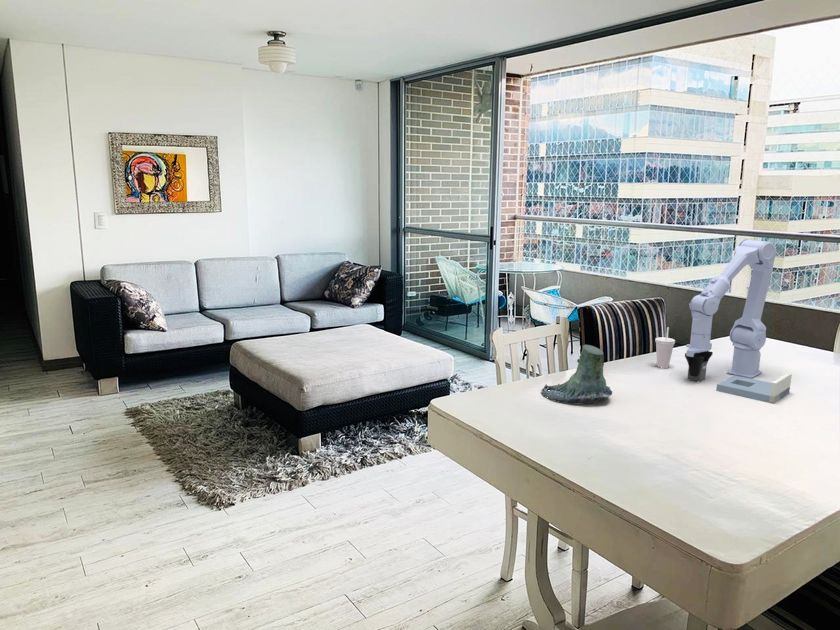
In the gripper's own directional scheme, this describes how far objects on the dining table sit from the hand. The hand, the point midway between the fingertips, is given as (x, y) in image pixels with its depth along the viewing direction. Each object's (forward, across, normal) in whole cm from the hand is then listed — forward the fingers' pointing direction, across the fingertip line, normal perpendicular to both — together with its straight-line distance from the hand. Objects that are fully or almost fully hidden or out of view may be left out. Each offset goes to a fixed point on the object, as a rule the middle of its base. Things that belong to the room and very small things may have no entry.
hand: (696, 374), depth 205 cm
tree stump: (+2, +43, -17) cm, 46 cm away
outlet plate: (+2, 0, +17) cm, 17 cm away
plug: (+2, 0, 0) cm, 2 cm away
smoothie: (+2, -6, -14) cm, 15 cm away
